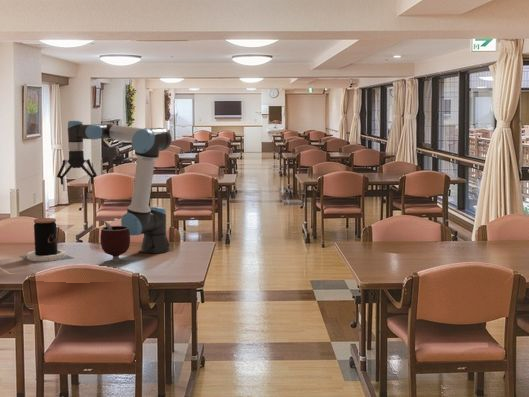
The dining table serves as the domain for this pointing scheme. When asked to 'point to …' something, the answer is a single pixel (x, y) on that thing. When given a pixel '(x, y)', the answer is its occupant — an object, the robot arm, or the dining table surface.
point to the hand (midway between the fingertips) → (77, 190)
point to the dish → (34, 257)
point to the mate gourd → (115, 243)
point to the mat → (46, 261)
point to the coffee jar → (45, 236)
